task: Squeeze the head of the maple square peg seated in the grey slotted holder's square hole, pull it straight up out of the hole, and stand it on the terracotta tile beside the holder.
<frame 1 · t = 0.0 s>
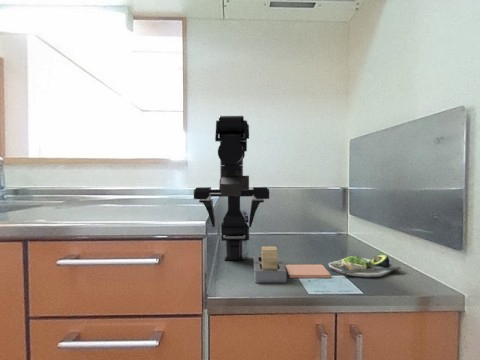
hand: (231, 227, 95), 15 cm above the worktop, fingers open, 9 cm apart
terracotta tile: (306, 272, 106), on the worktop
grey slotted holder: (268, 273, 105), on the worktop
maple peg: (269, 277, 101), resting in grey slotted holder
salad plate: (363, 271, 109), on the worktop
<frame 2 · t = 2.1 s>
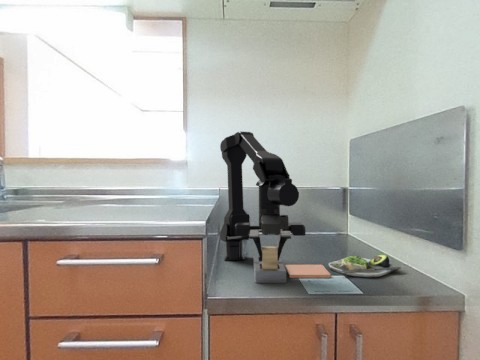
hand: (269, 260, 101), 5 cm above the worktop, fingers closed on maple peg, 4 cm apart
maple peg: (269, 277, 101), resting in grey slotted holder, touching gripper
everything else where it was.
when the fingers open (6 cm above the worktop, at t = 5.9 s): maple peg drops 1 cm, resting on terracotta tile.
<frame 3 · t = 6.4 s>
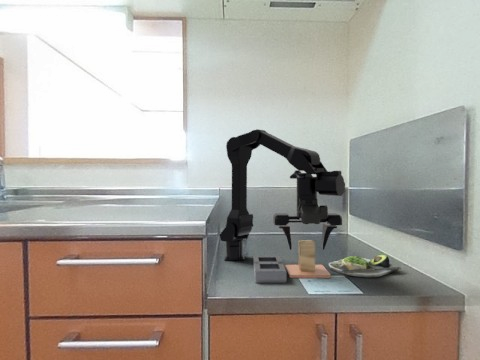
hand: (306, 249, 106), 6 cm above the worktop, fingers open, 9 cm apart
maple peg: (306, 269, 106), point 1 cm above the worktop, touching terracotta tile
everything else where it was.
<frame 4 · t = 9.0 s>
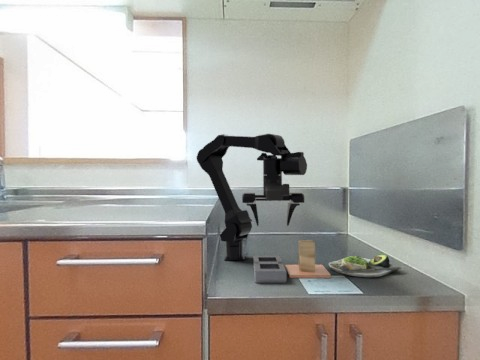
hand: (272, 225, 115), 12 cm above the worktop, fingers open, 9 cm apart
nothing on the worktop moved.
at the end: maple peg inside the target area on the terracotta tile (0.1 cm from its centre), point 0.8 cm above the terracotta tile's base; maple peg tilted 0°; the gripper is holding nothing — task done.
